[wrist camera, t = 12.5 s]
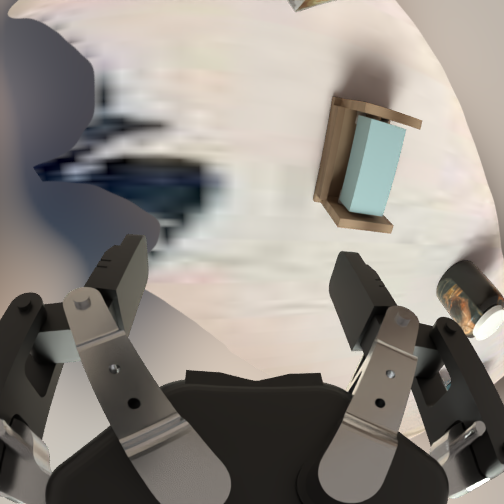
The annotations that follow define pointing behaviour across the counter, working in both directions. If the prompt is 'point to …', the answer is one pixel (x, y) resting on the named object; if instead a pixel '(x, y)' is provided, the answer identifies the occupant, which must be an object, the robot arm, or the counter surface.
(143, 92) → the counter surface
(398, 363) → the robot arm
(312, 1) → the coffee box
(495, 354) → the counter surface
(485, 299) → the jar
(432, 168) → the counter surface
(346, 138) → the shelf rack
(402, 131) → the light teal block
